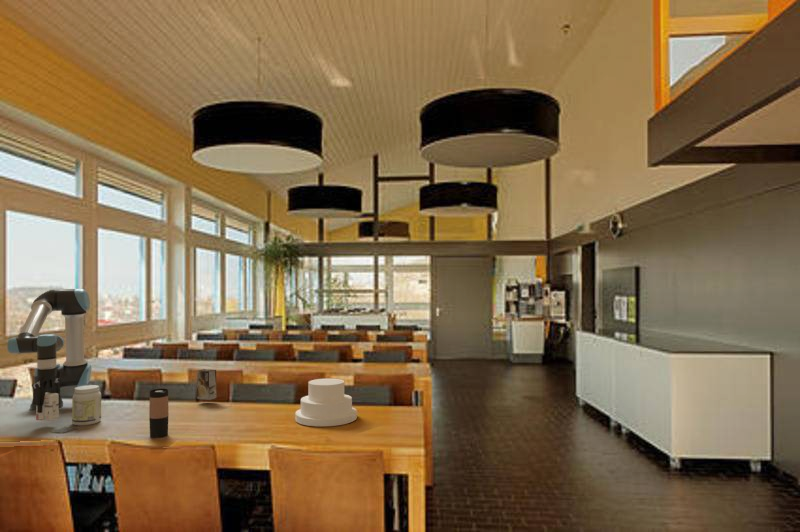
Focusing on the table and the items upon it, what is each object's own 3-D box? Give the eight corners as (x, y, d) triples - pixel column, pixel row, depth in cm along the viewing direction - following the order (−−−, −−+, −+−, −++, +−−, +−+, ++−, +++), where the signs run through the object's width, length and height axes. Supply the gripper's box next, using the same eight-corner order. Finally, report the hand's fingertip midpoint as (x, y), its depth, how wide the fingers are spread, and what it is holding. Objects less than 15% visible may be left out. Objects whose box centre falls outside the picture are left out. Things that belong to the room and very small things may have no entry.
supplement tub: (84, 418, 268) (84, 384, 268) (107, 419, 266) (107, 384, 267) (65, 425, 256) (65, 389, 256) (89, 426, 254) (89, 390, 255)
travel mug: (153, 433, 242) (153, 388, 242) (170, 433, 242) (170, 388, 243) (146, 439, 234) (146, 392, 234) (165, 438, 235) (165, 392, 235)
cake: (326, 430, 247) (326, 390, 247) (282, 419, 265) (282, 383, 265) (369, 416, 271) (369, 380, 271) (326, 407, 289) (326, 373, 289)
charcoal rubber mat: (65, 427, 252) (65, 426, 252) (77, 428, 250) (77, 427, 251) (50, 432, 245) (50, 431, 245) (62, 433, 243) (62, 432, 243)
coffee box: (217, 397, 312) (217, 369, 312) (209, 400, 306) (209, 371, 306) (204, 396, 316) (204, 368, 316) (196, 398, 310) (196, 370, 310)
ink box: (35, 420, 253) (35, 394, 253) (45, 417, 258) (44, 392, 258) (50, 421, 251) (49, 395, 250) (59, 418, 255) (59, 393, 255)
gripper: (57, 364, 264) (57, 412, 264) (22, 371, 246) (22, 422, 246) (69, 364, 262) (69, 413, 262) (35, 371, 244) (36, 423, 244)
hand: (46, 417), depth 254 cm, fingers closed on ink box, 5 cm apart
